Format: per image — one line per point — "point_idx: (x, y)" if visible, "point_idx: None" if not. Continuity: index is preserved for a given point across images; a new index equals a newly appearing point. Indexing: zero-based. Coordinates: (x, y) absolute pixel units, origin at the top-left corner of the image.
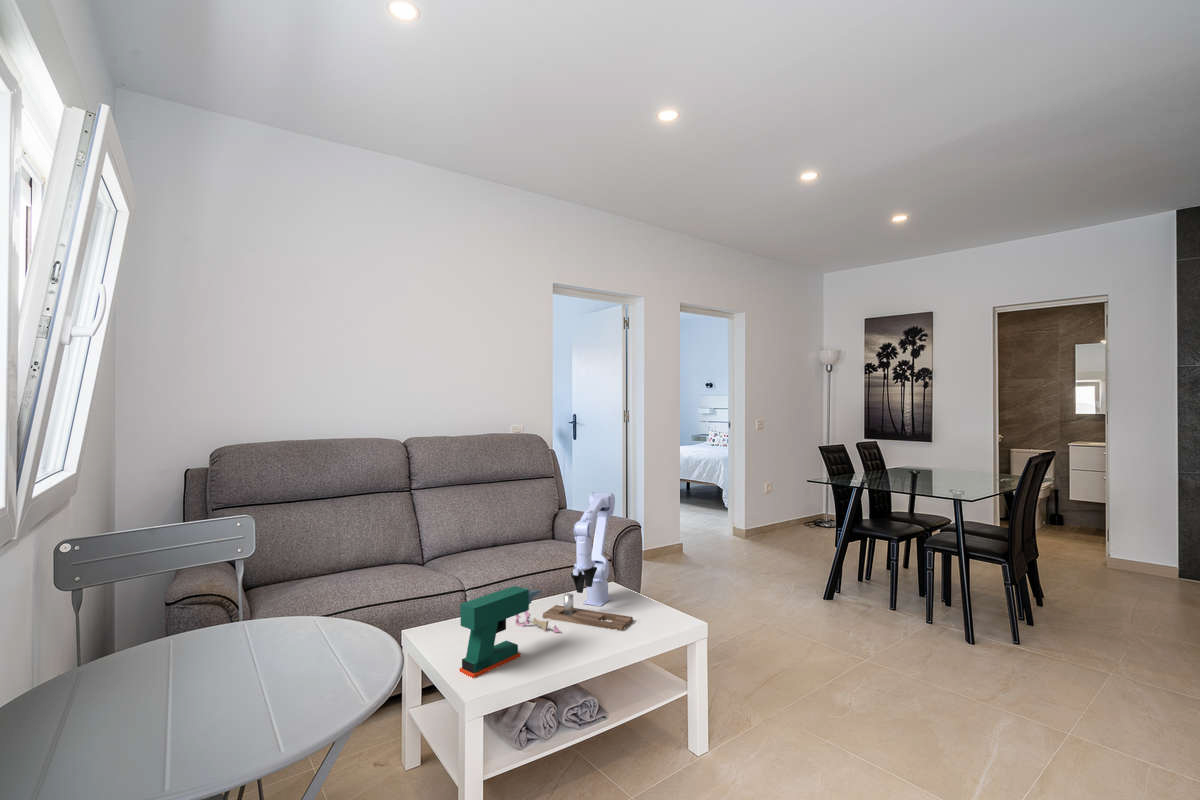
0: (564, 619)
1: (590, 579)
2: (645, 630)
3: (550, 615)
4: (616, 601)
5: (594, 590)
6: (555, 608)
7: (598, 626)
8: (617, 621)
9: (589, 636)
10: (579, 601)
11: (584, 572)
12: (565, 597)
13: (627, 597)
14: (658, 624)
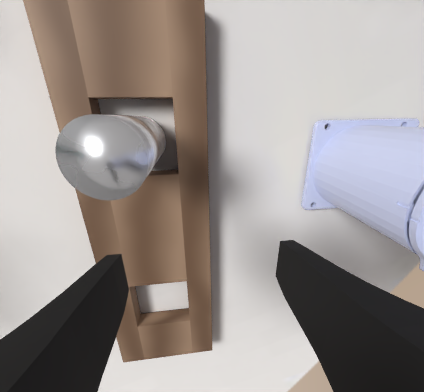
0: None
1: (313, 326)
2: (164, 379)
3: (41, 62)
4: (366, 229)
5: (359, 202)
6: (150, 30)
7: None
8: (153, 337)
9: (21, 304)
10: (345, 85)
11: (400, 351)
12: (62, 153)
13: None
14: (216, 382)
